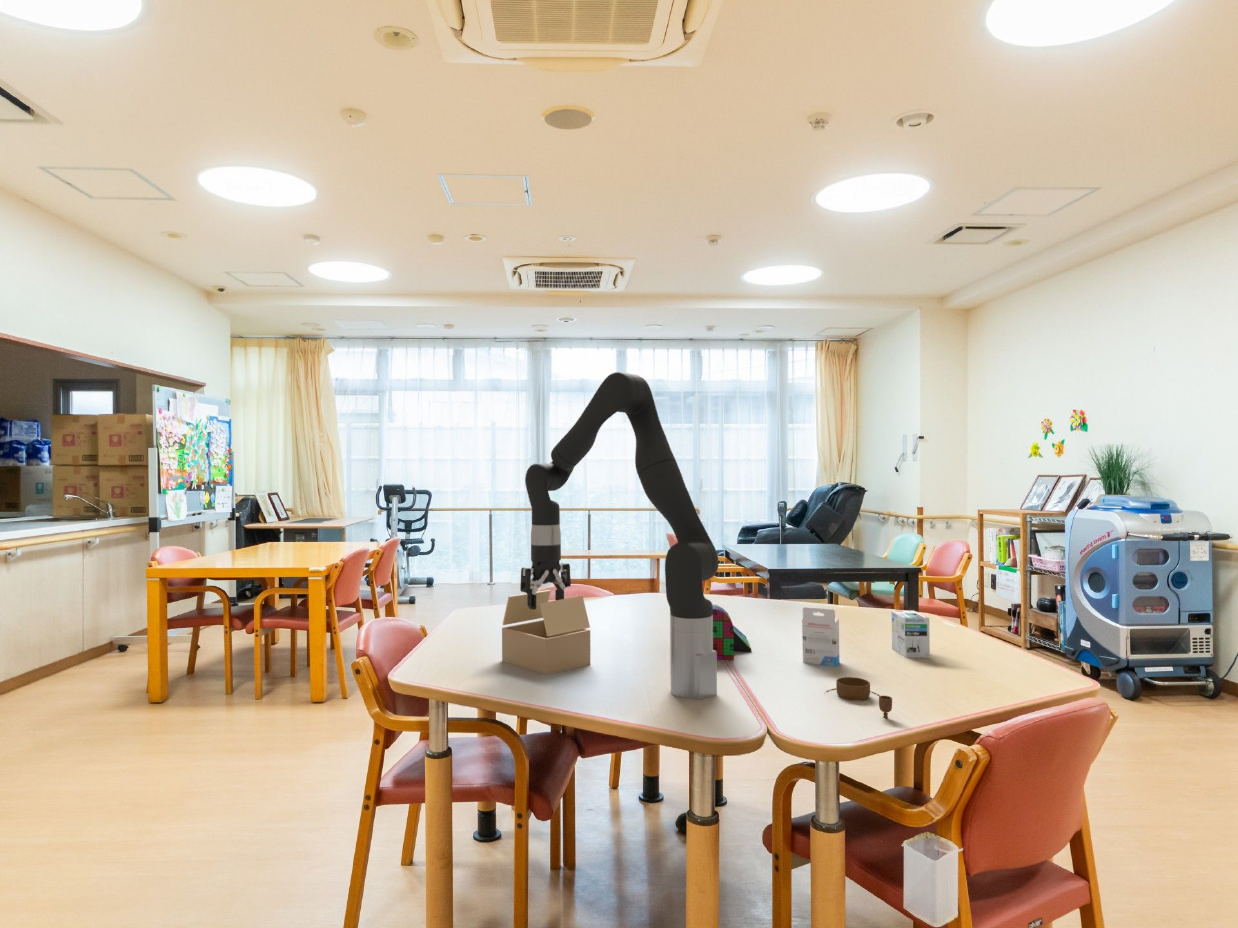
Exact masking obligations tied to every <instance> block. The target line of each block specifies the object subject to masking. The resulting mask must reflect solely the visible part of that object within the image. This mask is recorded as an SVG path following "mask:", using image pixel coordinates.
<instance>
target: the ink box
mask: <svg viewBox="0 0 1238 928" xmlns="http://www.w3.org/2000/svg"><path fill="white" fill-rule="evenodd" d="M816 613H820V614H823V615H819V614H818V615H817V614H816ZM839 620H840V619H839V618H836V611H835V609H829V608H818V607H806V606H805V607H803V608H802V620H801V623H802V625H801V628H802V629H801V630H802V663H804V664H805V663H806V664H811V665H812V664H814V665H820V666H828V665H829V666H830V667H838V665H839V664H840V621H839Z"/></svg>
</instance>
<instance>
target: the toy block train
mask: <svg viewBox="0 0 1238 928" xmlns="http://www.w3.org/2000/svg"><path fill="white" fill-rule="evenodd" d="M712 606H713V650H715V651H716V652H717V661H735V653H737V652H738V653H752V647H751V646H750V643H749V640H748V639H747V636H746V635H745V634H744V633H743V631H742V632H741V631H740V630H739V629H738V627H736V626H735V625H734V624H733V622H732V619H731V617H730V615H729V613H728V612H727V611H726V610H725V609H724V608H723V607H721V606H719V605H717V604H713V603H712Z"/></svg>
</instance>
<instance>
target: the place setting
mask: <svg viewBox="0 0 1238 928" xmlns="http://www.w3.org/2000/svg"><path fill="white" fill-rule="evenodd" d="M835 685H836V687H835V688H831V689H828V690H826V691H825V692H827V693H829V692H830V691H829V690H831V691H835V690H836V694H837V696H838V697H839V696H840V697H839V698H841V699H843V698H844V700H847V699H849V700H848V701H855V700H861V701H866V700H867V699H869V697H870V695H871V694H873V693H874V695H876V694H877V695H876V696H878V702H879V703H878V707H879V710H880V711H881V712H882V713H883V717H882V718H883V719H884V718H885V720H888V719H889V717H888V715H889V713H890V712H891V711H892V709H893V697H892V696H888V695H880V694H878V693H877V692H873V691H871V682H870V681H869V680H867V679H865V678H860V677H854V676H851V677H850V676H846V677H845V676H844V677H839V678H836V683H835ZM870 692H872V693H870ZM865 699H866V700H865Z"/></svg>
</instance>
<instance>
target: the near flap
mask: <svg viewBox="0 0 1238 928" xmlns="http://www.w3.org/2000/svg"><path fill="white" fill-rule="evenodd" d="M585 604H586V603H585V600H584V596H583V595H581V596H579V595H578V596H574V597H568V598H564V599H561V600H550V601H549V600H548V602H543V603H540V606H541V610H542V615H543V618H542V620H544V624H545V628H546V633H547V637H548V636H552V635H557V634H562V633H567V632H571V631H576V630H581V629H590V628H591V625H590V622H589V617H588V613H587V608H586V605H585Z"/></svg>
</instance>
